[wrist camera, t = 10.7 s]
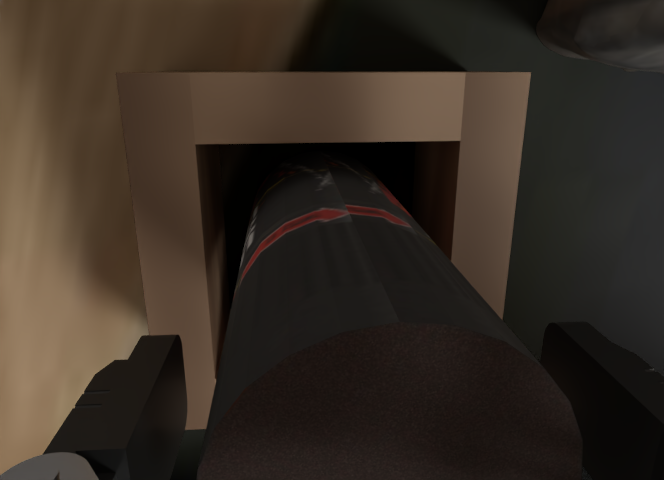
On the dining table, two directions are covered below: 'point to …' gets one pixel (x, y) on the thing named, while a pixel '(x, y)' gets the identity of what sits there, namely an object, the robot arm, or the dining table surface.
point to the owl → (606, 32)
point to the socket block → (309, 127)
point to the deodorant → (370, 350)
